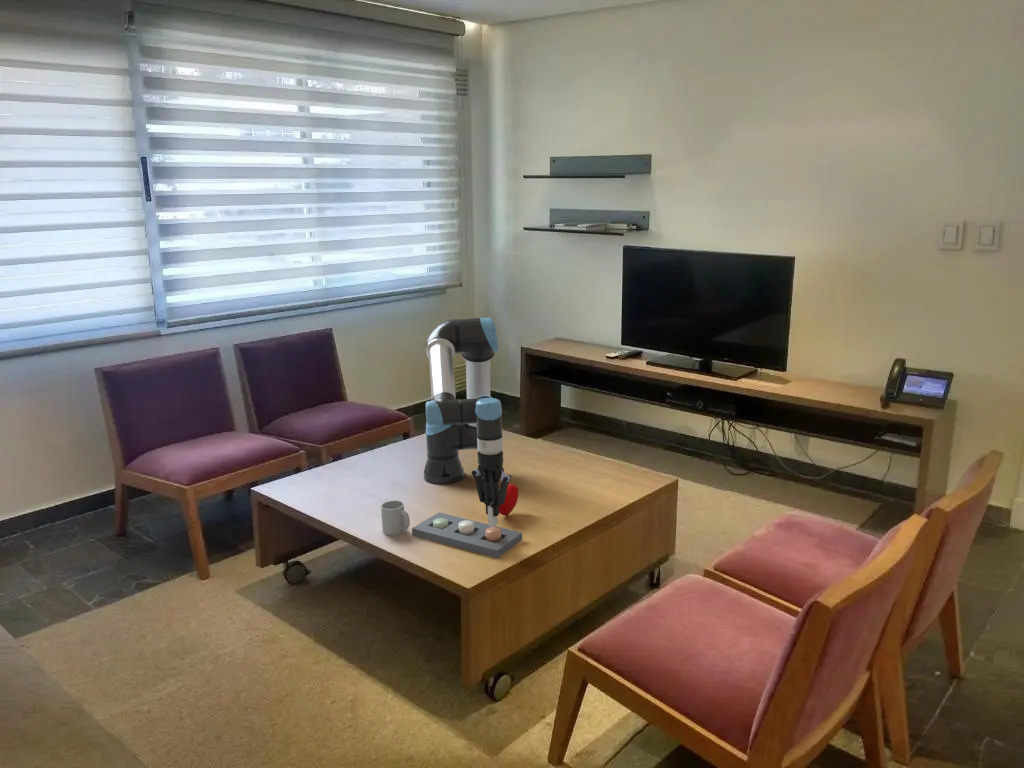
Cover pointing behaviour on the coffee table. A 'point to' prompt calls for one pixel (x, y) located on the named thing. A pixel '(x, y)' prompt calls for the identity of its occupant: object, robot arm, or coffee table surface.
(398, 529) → the cup
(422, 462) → the coffee table surface
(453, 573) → the coffee table surface
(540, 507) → the coffee table surface
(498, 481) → the robot arm
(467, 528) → the cream button
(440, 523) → the sage button
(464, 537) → the panel
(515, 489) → the heart
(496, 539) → the peach button
